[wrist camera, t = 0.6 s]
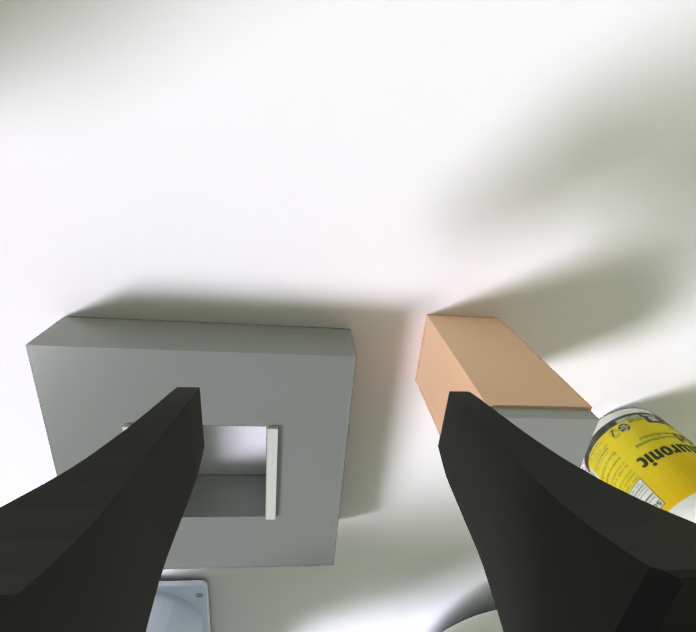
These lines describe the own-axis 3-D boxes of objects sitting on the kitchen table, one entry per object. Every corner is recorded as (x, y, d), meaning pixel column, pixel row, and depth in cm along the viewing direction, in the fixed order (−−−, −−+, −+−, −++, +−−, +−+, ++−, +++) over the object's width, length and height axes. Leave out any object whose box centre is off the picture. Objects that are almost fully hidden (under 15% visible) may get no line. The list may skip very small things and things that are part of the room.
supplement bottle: (671, 403, 26) (865, 545, 17) (643, 470, 28) (802, 628, 19) (589, 404, 25) (745, 552, 16) (567, 473, 27) (693, 636, 18)
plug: (482, 381, 24) (568, 502, 16) (415, 379, 23) (469, 502, 16) (498, 318, 22) (602, 417, 14) (426, 314, 22) (493, 415, 14)
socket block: (330, 521, 27) (333, 568, 24) (104, 524, 26) (78, 574, 23) (350, 328, 22) (356, 358, 19) (64, 316, 20) (22, 347, 17)
